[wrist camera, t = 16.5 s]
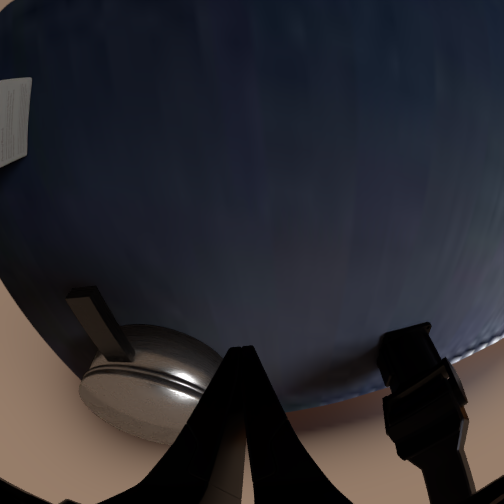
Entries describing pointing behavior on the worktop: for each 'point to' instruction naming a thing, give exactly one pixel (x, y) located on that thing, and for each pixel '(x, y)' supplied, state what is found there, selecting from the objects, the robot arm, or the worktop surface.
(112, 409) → the lid
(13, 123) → the supplement box
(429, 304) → the worktop surface
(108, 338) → the cooker pot
